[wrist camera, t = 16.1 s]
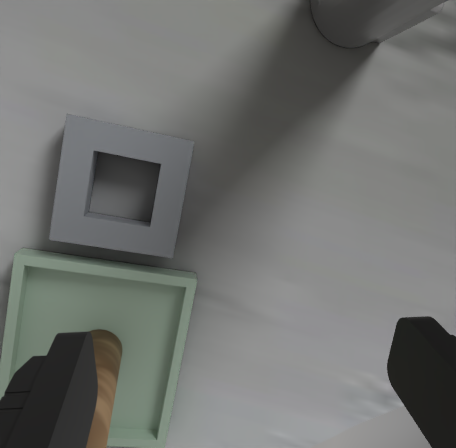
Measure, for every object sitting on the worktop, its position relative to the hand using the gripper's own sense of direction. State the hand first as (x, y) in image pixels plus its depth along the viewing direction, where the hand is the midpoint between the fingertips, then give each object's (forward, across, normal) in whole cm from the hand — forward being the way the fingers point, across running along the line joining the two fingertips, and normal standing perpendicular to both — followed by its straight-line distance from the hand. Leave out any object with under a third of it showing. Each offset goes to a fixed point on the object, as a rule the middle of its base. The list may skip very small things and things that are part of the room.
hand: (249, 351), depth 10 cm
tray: (+28, +11, +23) cm, 38 cm away
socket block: (+32, +8, +6) cm, 33 cm away
